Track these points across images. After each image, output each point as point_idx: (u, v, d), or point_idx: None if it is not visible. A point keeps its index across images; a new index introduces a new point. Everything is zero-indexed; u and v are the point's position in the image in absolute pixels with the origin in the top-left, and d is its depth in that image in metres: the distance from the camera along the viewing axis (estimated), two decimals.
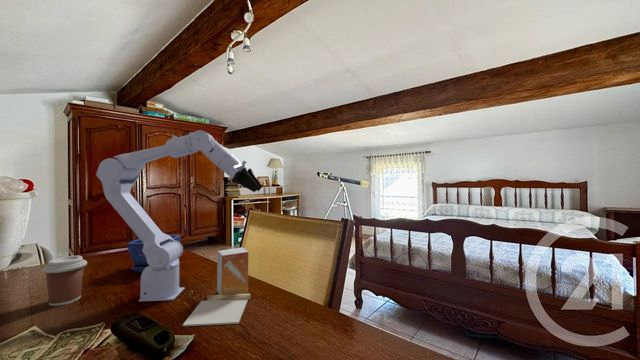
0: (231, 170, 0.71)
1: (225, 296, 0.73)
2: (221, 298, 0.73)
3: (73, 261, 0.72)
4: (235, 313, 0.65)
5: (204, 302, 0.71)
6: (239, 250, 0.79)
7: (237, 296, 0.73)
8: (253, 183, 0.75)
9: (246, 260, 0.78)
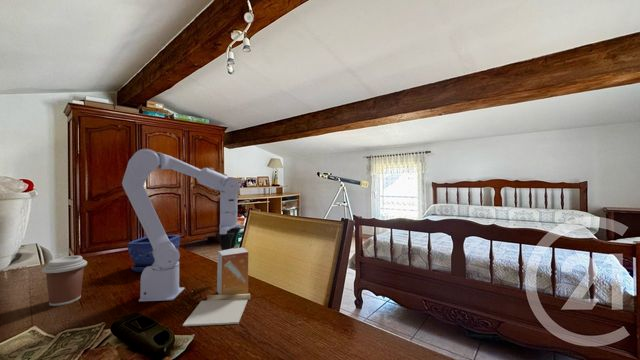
0: (222, 230, 0.81)
1: (225, 296, 0.73)
2: (221, 298, 0.73)
3: (73, 261, 0.72)
4: (235, 313, 0.65)
5: (204, 302, 0.71)
6: (239, 250, 0.79)
7: (237, 296, 0.73)
8: (228, 247, 0.84)
9: (246, 260, 0.78)
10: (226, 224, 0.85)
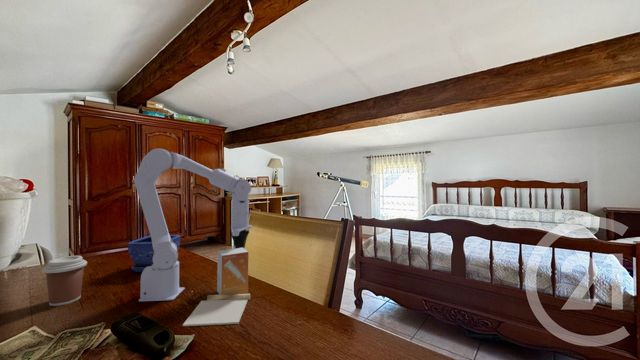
0: (234, 231, 0.80)
1: (225, 296, 0.73)
2: (221, 298, 0.73)
3: (73, 261, 0.72)
4: (235, 313, 0.65)
5: (204, 302, 0.71)
6: (239, 250, 0.79)
7: (237, 296, 0.73)
8: (241, 247, 0.87)
9: (246, 260, 0.78)
10: (238, 226, 0.85)
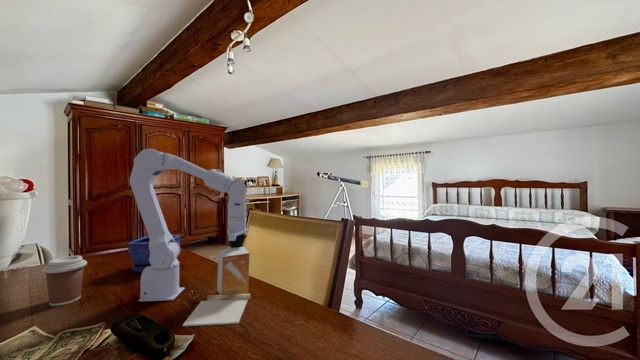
0: (231, 236, 0.76)
1: (225, 296, 0.73)
2: (221, 298, 0.73)
3: (73, 261, 0.72)
4: (235, 313, 0.65)
5: (204, 302, 0.71)
6: (240, 250, 0.78)
7: (237, 296, 0.73)
8: None
9: (247, 261, 0.77)
10: (234, 230, 0.80)
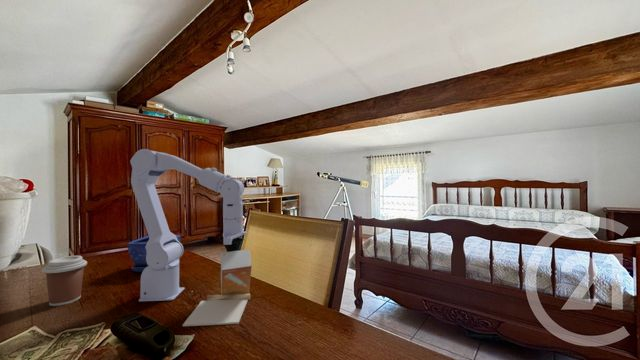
0: (226, 239, 0.70)
1: (225, 296, 0.73)
2: (221, 298, 0.73)
3: (73, 261, 0.72)
4: (235, 313, 0.65)
5: (204, 302, 0.71)
6: (243, 259, 0.72)
7: (237, 296, 0.73)
8: None
9: (248, 272, 0.72)
10: (230, 232, 0.74)
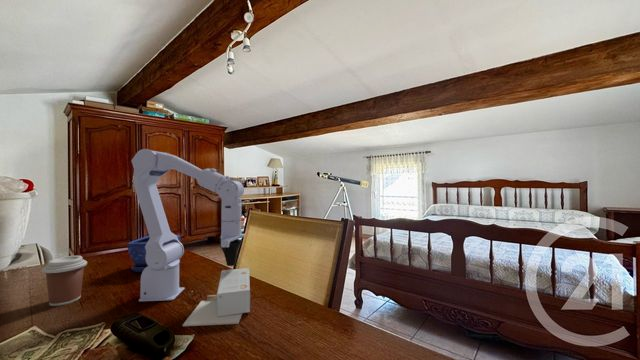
0: (224, 242, 0.69)
1: None
2: None
3: (73, 261, 0.72)
4: None
5: (204, 302, 0.71)
6: (241, 304, 0.65)
7: None
8: (233, 259, 0.75)
9: None
10: (228, 235, 0.73)
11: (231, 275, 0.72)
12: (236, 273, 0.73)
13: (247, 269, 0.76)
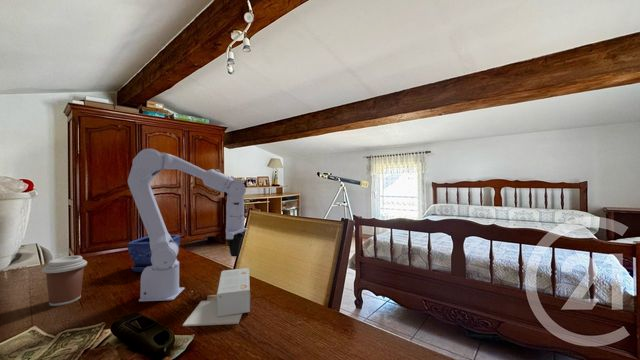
0: (228, 234, 0.77)
1: None
2: None
3: (73, 261, 0.72)
4: None
5: (204, 302, 0.71)
6: (241, 304, 0.65)
7: None
8: (236, 250, 0.84)
9: None
10: (232, 228, 0.82)
11: (231, 275, 0.72)
12: (236, 274, 0.73)
13: (247, 269, 0.76)
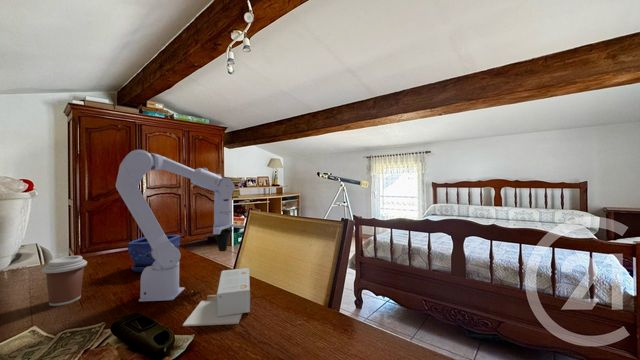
0: (216, 230, 0.80)
1: None
2: None
3: (73, 261, 0.72)
4: None
5: (204, 302, 0.71)
6: (241, 304, 0.65)
7: None
8: (224, 245, 0.87)
9: None
10: (220, 224, 0.85)
11: (231, 275, 0.72)
12: (236, 274, 0.73)
13: (247, 269, 0.76)
